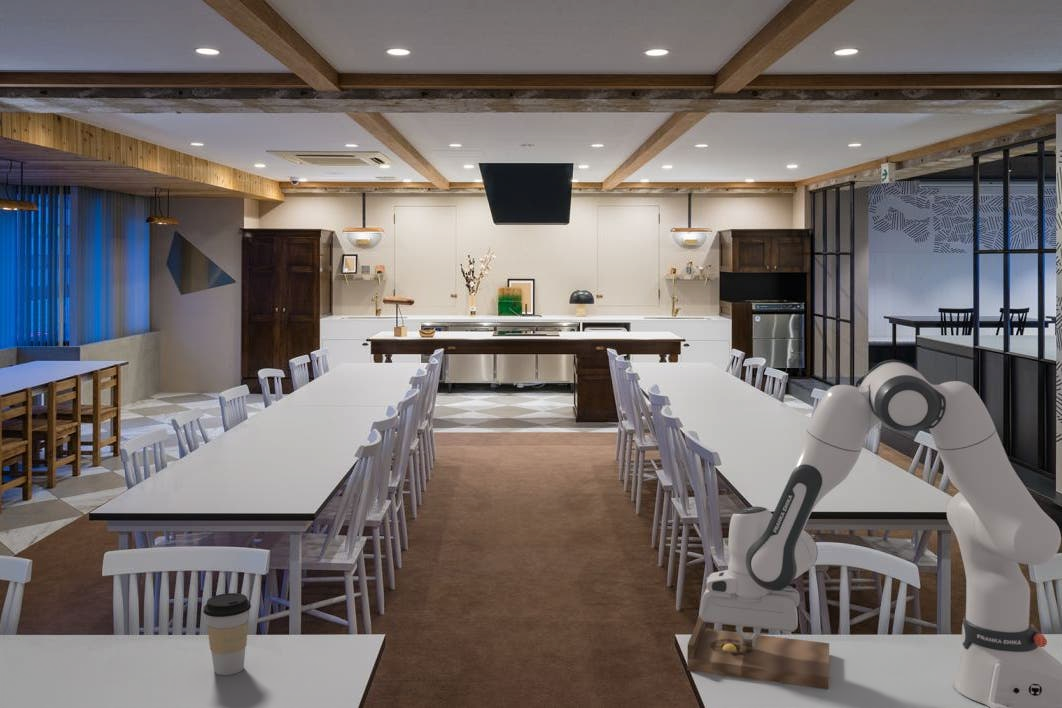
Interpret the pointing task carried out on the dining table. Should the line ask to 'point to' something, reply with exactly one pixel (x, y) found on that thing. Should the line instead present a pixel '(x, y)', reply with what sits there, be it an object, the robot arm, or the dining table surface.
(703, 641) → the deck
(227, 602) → the coffee cup
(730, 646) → the ball
